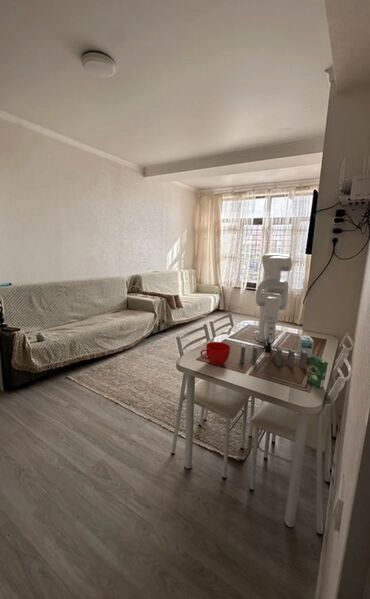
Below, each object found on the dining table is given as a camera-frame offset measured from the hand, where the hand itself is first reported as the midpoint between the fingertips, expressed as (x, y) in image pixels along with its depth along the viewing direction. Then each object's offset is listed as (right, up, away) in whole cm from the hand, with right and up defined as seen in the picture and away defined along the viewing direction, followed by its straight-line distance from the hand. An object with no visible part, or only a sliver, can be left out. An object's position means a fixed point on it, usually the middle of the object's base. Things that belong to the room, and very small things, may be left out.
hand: (267, 350), depth 156 cm
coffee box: (+17, -13, -20) cm, 30 cm away
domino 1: (-13, -6, +4) cm, 15 cm away
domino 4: (+6, -8, +1) cm, 10 cm away
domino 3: (0, -3, +1) cm, 3 cm away
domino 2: (-7, -7, +3) cm, 10 cm away
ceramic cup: (-30, -7, -2) cm, 31 cm away
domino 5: (+13, -8, 0) cm, 15 cm away
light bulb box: (+28, -6, +17) cm, 33 cm away
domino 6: (+19, -9, -1) cm, 21 cm away
